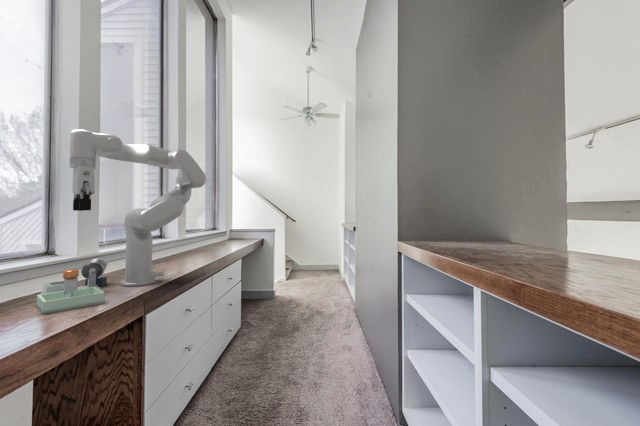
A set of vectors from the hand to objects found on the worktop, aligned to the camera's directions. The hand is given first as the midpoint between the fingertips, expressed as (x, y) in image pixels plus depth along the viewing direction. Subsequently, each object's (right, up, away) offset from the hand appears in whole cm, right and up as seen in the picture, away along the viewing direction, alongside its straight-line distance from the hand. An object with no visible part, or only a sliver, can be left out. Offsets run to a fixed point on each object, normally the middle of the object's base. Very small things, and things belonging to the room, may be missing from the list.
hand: (81, 210), depth 106 cm
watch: (-3, -31, +10) cm, 33 cm away
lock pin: (+9, -29, -15) cm, 34 cm away
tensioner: (0, -30, -4) cm, 31 cm away
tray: (+9, -30, -15) cm, 35 cm away
